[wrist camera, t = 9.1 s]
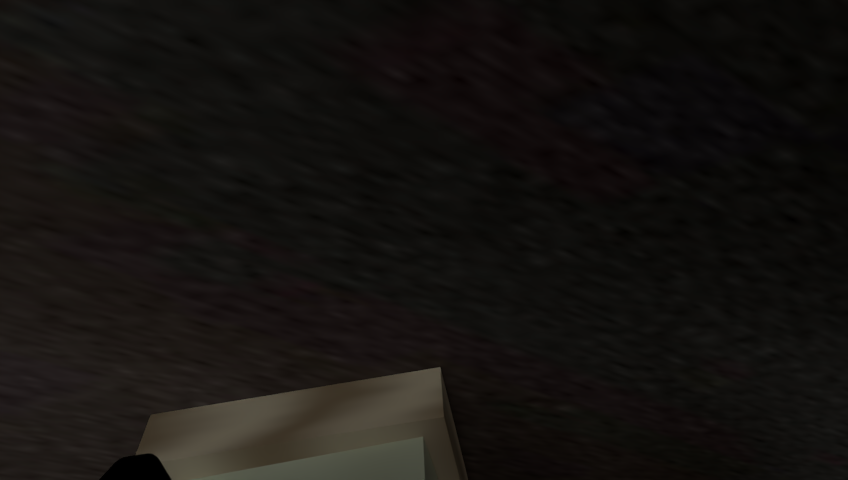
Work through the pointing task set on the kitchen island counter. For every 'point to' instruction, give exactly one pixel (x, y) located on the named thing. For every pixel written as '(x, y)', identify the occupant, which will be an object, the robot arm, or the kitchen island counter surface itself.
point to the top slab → (350, 465)
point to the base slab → (308, 426)
